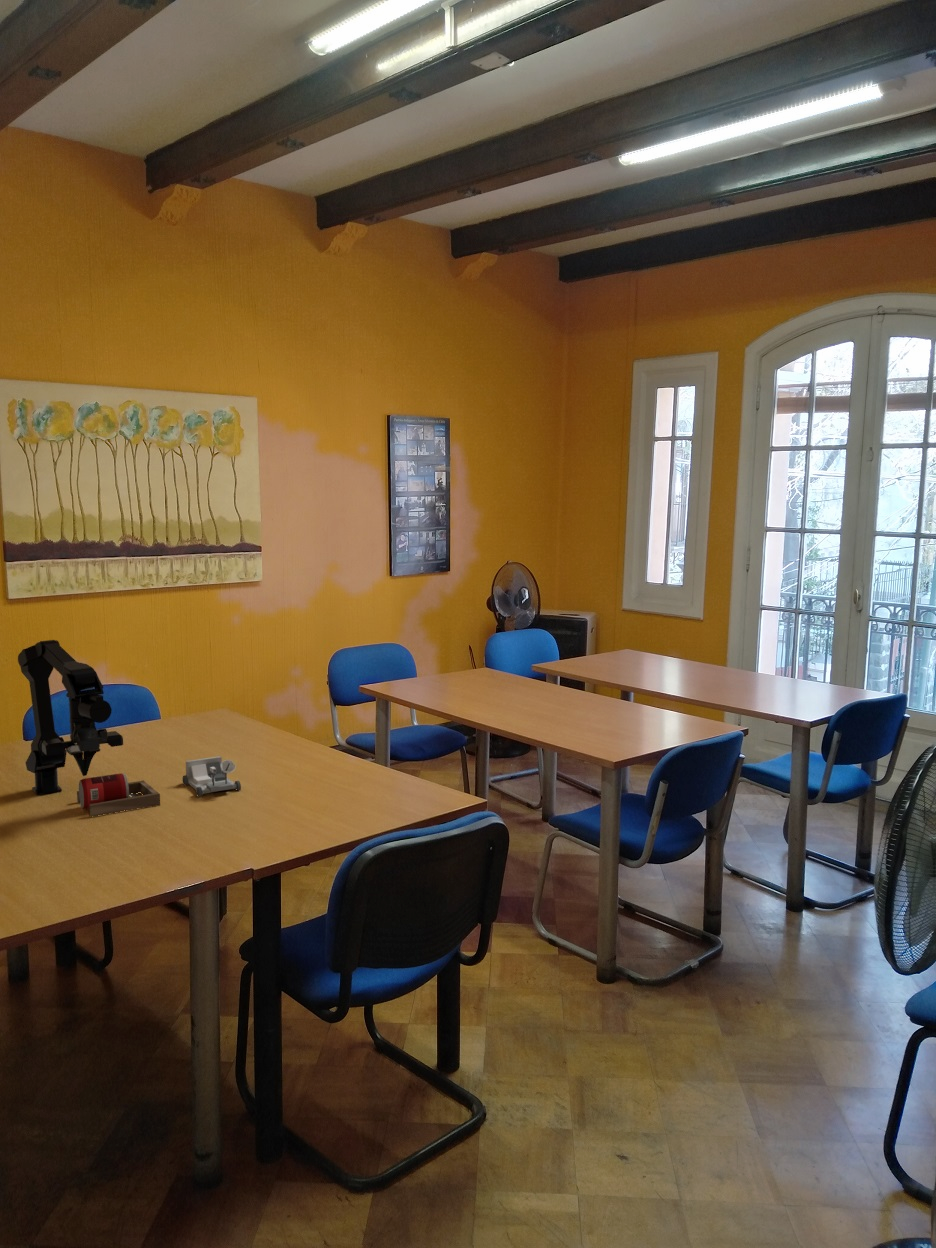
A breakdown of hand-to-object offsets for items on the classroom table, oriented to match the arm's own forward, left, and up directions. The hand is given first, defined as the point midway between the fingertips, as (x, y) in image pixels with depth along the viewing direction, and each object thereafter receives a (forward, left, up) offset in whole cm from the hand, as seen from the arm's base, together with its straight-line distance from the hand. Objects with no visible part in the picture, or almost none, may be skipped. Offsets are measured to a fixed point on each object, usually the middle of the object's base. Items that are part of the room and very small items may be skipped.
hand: (84, 775), depth 244 cm
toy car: (+1, +34, -10) cm, 35 cm away
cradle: (0, +8, -9) cm, 12 cm away
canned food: (+1, -1, -5) cm, 5 cm away
